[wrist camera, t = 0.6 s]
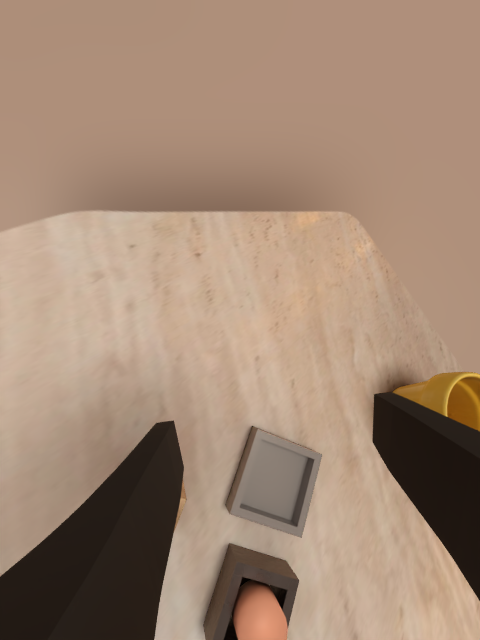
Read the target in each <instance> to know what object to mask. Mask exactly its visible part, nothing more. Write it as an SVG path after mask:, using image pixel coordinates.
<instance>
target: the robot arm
mask: <svg viewBox="0 0 480 640" xmlns="http://www.w3.org/2000/svg"><path fill="white" fill-rule="evenodd" d="M373 443H374V445H375V447H376V449H377V450H378V452H379V454H380V456H381V458H382V459H383V461H384V463H385V464H386V466H387V468H388V469H389V471H390V472H391V474H392V475H393V477H394V478H395V479H396V481H397V482H398V483H399V485H400V486H401V488H402V489H403V490H404V492H405V493H406V494H407V496H408V497H409V499H410V500H411V501H412V503H413V504H414V505H415V507H416V508H417V509H418V511H419V512H420V513H421V515H422V516H423V517H424V519H425V520H426V522H427V523H428V524H429V526H430V527H431V528H432V530H433V531H434V532H435V534H436V535H437V536H438V538H439V539H440V541H441V542H442V543H443V545H444V546H445V548H446V549H447V551H448V552H449V554H450V555H451V556H452V558H453V559H454V561H455V562H456V564H457V565H458V567H459V569H460V570H461V572H462V573H463V575H464V577H465V578H466V580H467V581H468V583H469V585H470V586H471V588H472V589H473V591H474V593H475V594H476V596H477V597H478V599H479V600H480V431H478V430H476V429H473V428H471V427H469V426H467V425H464V424H462V423H460V422H458V421H455V420H453V419H451V418H449V417H446V416H444V415H442V414H440V413H438V412H436V411H433V410H431V409H429V408H427V407H425V406H423V405H420V404H418V403H416V402H414V401H412V400H409V399H407V398H405V397H403V396H400V395H398V394H395V393H393V392H387V393H379V394H374V416H373ZM183 471H184V466H183V461H182V456H181V452H180V447H179V443H178V438H177V433H176V429H175V424H174V421H168V422H160V423H156V424H155V425H154V426H153V427H152V429H151V430H150V431H149V432H148V433H147V434H146V436H145V437H144V438H143V439H142V440H141V441H140V443H139V444H138V445H137V446H136V447H135V448H134V450H133V451H132V452H131V453H130V454H129V455H128V456H127V458H126V459H125V460H124V461H123V462H122V463H121V464H120V465H119V467H118V468H117V469H116V470H115V471H114V472H113V473H112V474H111V475H110V476H109V477H108V478H107V479H106V480H105V481H104V482H103V484H102V485H101V486H100V487H99V488H98V489H97V490H96V491H95V492H94V493H93V494H92V495H91V496H90V497H89V498H88V499H87V500H86V501H85V502H84V503H83V504H82V505H81V506H80V507H79V508H78V509H77V510H76V511H75V512H74V513H73V514H72V515H71V516H70V517H69V518H68V519H66V520H65V521H64V522H63V523H62V524H61V525H60V526H59V527H58V528H57V529H55V530H54V531H53V532H52V533H51V534H50V535H49V536H48V537H47V538H46V539H44V540H43V541H42V542H41V543H40V544H39V545H38V546H36V547H35V548H34V549H33V550H32V551H30V552H29V553H28V554H27V555H26V556H24V557H23V558H22V559H21V560H20V561H18V562H17V563H16V564H15V565H14V566H12V567H11V568H10V569H9V570H8V571H6V572H5V573H4V574H3V575H2V576H0V640H154V637H155V630H156V622H157V615H158V608H159V602H160V596H161V590H162V585H163V580H164V575H165V571H166V566H167V561H168V556H169V552H170V547H171V542H172V538H173V533H174V528H175V524H176V519H177V514H178V509H179V504H180V499H181V491H182V481H183Z"/></svg>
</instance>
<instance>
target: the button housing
mask: <svg viewBox="0 0 480 640" xmlns="http://www.w3.org/2000/svg"><path fill="white" fill-rule="evenodd" d="M242 577H245V578H249V579H252V580H256V581H259V582H263V583H266V584H269V585H271V589H272V591H273V593H274V595H275V597H276V599H277V601H278V603H279V605H280V607H281V609H282V611H283V613H284V615H285V617H286V621H287V629H288V625H289V621H290V617H291V613H292V608H293V604H294V600H295V596H296V592H297V587H298V583H299V579H298V578H297V576H296V575H295V573H294V572H293V570H292V569H291V567H290V566H289V564H288V563H287V561H285V560H281V559H278V558H275V557H272V556H269V555H265V554H262V553H259V552H256V551H253V550H249V549H246V548H243V547H240V546H237V545H233V544H230V543H229V547H228V550H227V553H226V556H225V559H224V562H223V565H222V568H221V571H220V575H219V578H218V581H217V584H216V587H215V590H214V593H213V596H212V599H211V603H210V606H209V609H208V612H207V615H206V618H205V621H204V624H203V626H204V632H205V638H206V640H238V638H237V634H236V631H235V627H234V624H233V620H232V619H231V618H230V617H231V613H232V610H233V607H234V603H235V600H236V596H237V593H238V590H239V586H240V583H241V580H242Z"/></svg>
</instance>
